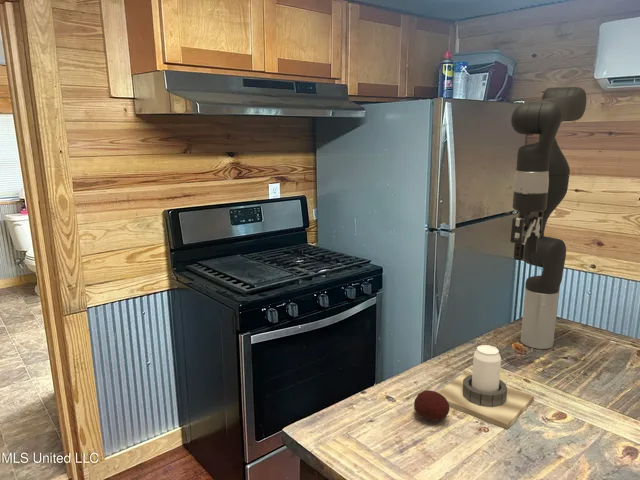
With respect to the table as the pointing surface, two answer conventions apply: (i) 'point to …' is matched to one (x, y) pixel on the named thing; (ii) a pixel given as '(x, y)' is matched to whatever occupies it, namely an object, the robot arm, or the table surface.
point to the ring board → (488, 412)
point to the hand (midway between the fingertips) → (525, 255)
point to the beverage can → (486, 369)
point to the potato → (431, 405)
